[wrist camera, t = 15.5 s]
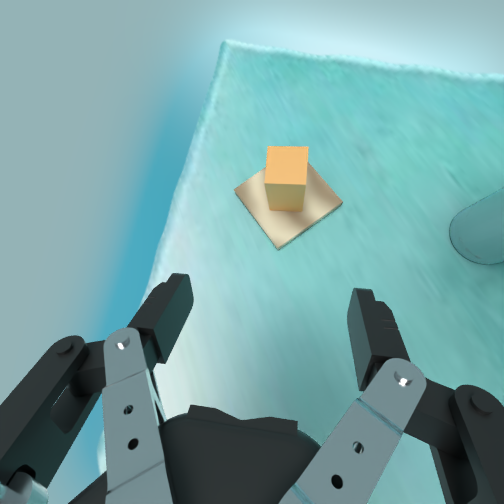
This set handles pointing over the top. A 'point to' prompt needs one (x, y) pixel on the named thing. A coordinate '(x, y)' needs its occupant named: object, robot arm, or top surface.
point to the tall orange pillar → (286, 177)
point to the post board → (288, 222)
